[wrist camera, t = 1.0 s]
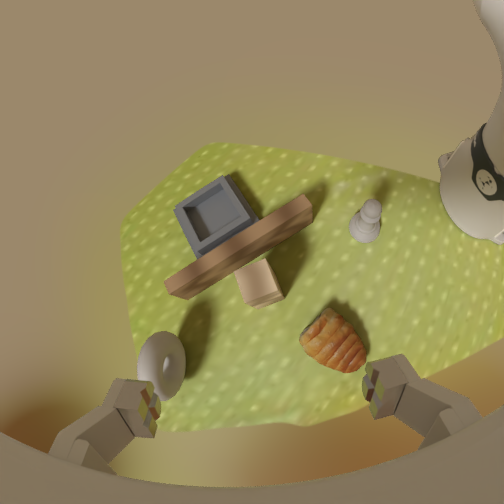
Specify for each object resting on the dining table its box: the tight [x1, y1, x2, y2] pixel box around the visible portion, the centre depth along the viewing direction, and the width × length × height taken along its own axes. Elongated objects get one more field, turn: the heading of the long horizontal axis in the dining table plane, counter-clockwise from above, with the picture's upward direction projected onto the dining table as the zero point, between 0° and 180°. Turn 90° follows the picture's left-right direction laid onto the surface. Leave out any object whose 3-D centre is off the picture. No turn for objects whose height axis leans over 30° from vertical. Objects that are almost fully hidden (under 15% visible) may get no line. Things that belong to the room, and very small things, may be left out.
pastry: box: [299, 308, 367, 373], centre depth 34 cm, size 9×7×4 cm
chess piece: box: [349, 199, 382, 243], centre depth 35 cm, size 5×5×8 cm
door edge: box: [164, 194, 313, 300], centre depth 39 cm, size 22×2×6 cm, turn 120°
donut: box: [137, 331, 186, 401], centre depth 34 cm, size 10×4×10 cm, turn 176°
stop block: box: [234, 258, 285, 309], centre depth 36 cm, size 4×4×8 cm
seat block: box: [173, 174, 260, 260], centre depth 43 cm, size 11×11×3 cm
